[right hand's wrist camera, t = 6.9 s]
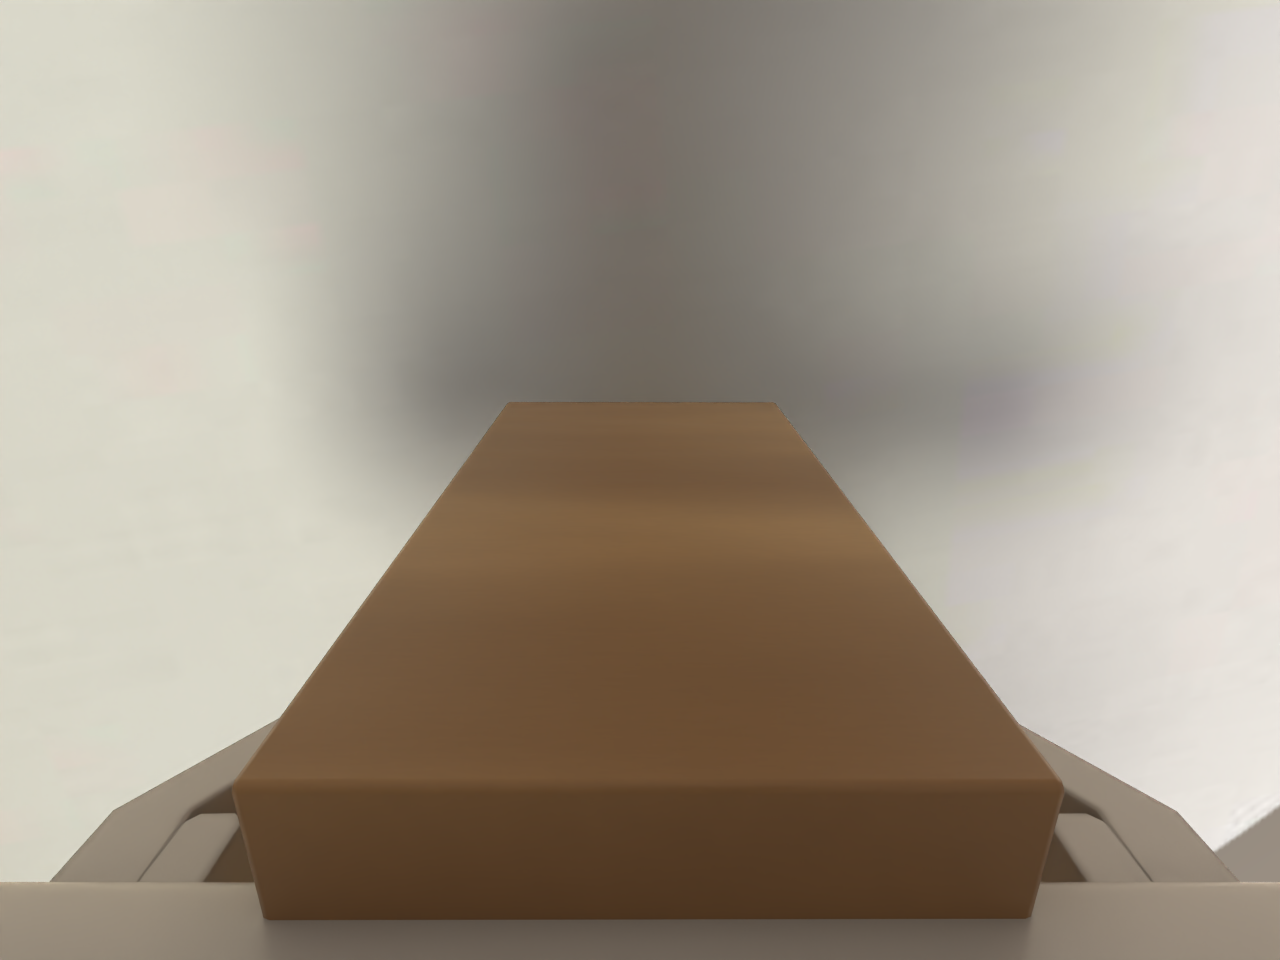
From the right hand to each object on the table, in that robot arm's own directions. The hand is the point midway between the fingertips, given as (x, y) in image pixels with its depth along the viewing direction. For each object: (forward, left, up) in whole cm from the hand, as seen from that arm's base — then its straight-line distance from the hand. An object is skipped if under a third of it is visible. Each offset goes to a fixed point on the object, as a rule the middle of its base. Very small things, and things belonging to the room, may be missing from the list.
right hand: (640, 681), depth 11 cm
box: (+7, 0, -6) cm, 9 cm away
